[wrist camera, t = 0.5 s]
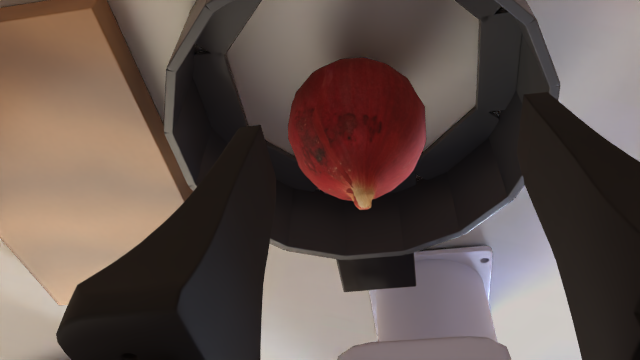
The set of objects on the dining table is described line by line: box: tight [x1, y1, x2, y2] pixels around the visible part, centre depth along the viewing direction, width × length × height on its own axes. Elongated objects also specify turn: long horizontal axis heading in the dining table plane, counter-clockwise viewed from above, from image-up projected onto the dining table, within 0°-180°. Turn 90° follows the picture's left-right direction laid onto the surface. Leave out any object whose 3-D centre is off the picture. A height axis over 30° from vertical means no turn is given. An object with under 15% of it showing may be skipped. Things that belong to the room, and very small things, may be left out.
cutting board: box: [0, 0, 193, 305], centre depth 30 cm, size 20×12×2 cm, turn 9°
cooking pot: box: [164, 0, 560, 292], centre depth 24 cm, size 21×16×4 cm
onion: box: [288, 57, 426, 210], centre depth 23 cm, size 6×6×8 cm
